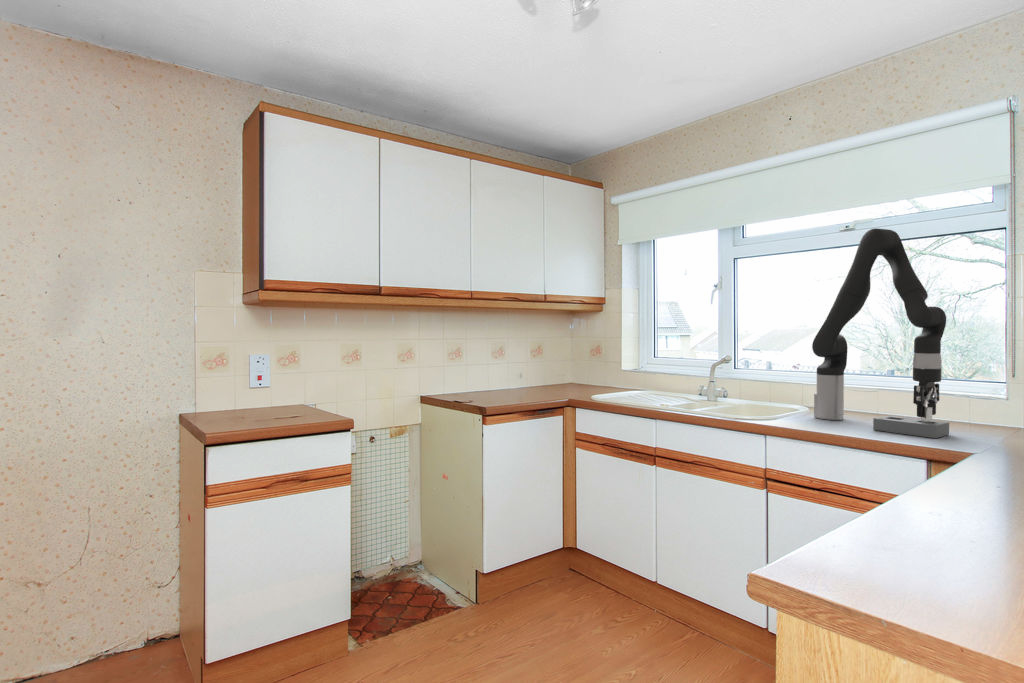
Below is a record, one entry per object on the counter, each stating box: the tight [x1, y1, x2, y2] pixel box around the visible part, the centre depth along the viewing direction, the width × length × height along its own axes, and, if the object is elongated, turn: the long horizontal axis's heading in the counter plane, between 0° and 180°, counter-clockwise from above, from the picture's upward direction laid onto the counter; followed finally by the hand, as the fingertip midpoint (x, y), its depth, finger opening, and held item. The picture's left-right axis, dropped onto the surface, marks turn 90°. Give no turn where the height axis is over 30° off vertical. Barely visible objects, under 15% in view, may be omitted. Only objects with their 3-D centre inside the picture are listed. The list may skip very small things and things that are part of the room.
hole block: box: [872, 414, 950, 439], centre depth 183 cm, size 18×11×4 cm, turn 34°
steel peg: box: [920, 406, 933, 424], centre depth 180 cm, size 3×3×9 cm
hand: (926, 415), depth 180 cm, fingers open, 8 cm apart
